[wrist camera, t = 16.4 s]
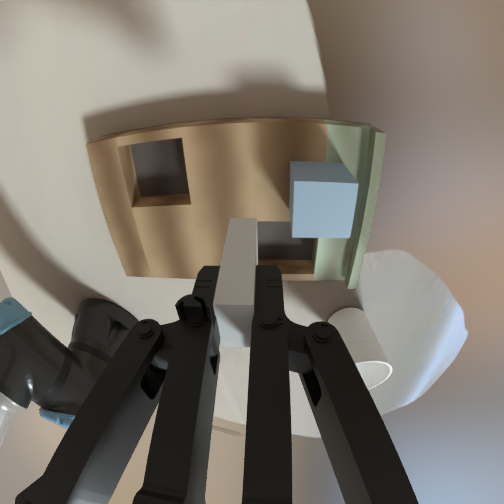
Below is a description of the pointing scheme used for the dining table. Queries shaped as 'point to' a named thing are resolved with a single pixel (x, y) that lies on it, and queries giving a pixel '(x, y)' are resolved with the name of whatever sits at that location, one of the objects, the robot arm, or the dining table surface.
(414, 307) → the dining table surface
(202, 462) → the robot arm
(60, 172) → the dining table surface
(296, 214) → the block
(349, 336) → the cup
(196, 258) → the board
